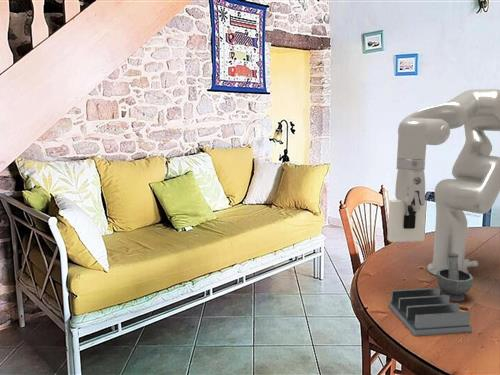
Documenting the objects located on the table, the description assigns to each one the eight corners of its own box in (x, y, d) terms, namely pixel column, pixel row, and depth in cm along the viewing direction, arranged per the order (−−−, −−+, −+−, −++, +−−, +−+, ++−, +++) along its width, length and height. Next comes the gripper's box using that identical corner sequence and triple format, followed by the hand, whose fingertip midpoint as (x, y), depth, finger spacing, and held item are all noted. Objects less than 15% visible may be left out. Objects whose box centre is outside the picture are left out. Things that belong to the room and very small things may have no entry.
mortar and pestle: (473, 305, 125) (476, 266, 123) (437, 302, 128) (440, 262, 126) (466, 289, 136) (470, 252, 133) (433, 286, 139) (436, 249, 136)
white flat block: (387, 239, 131) (389, 199, 128) (420, 238, 131) (422, 198, 129) (390, 242, 128) (392, 201, 126) (424, 240, 129) (426, 200, 127)
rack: (388, 306, 126) (389, 289, 125) (438, 302, 127) (439, 286, 126) (414, 335, 110) (415, 317, 109) (471, 331, 112) (473, 313, 111)
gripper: (437, 168, 118) (432, 234, 121) (411, 160, 134) (407, 219, 137) (410, 169, 117) (405, 235, 121) (386, 160, 133) (383, 219, 137)
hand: (406, 226), depth 129 cm, fingers closed on white flat block, 2 cm apart
